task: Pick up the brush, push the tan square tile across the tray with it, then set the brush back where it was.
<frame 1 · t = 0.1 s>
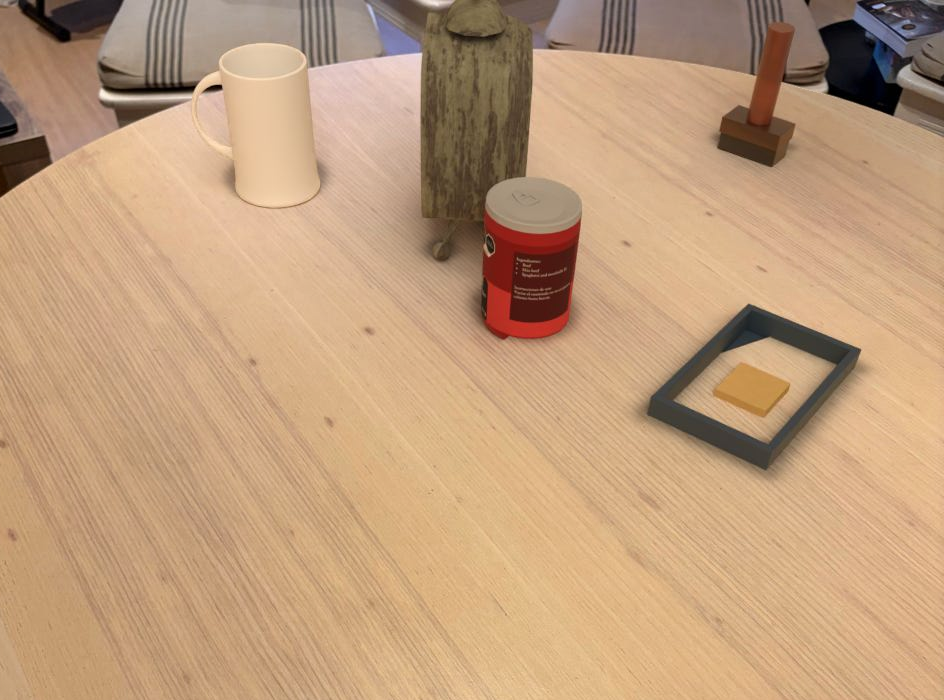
tray: (750, 400, 84), on the table
mug: (262, 187, 104), on the table
canned food: (524, 321, 90), on the table
brush: (751, 152, 110), on the table
tan square tile: (750, 395, 83), point 1 cm above the table, touching tray
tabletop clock: (472, 233, 99), on the table
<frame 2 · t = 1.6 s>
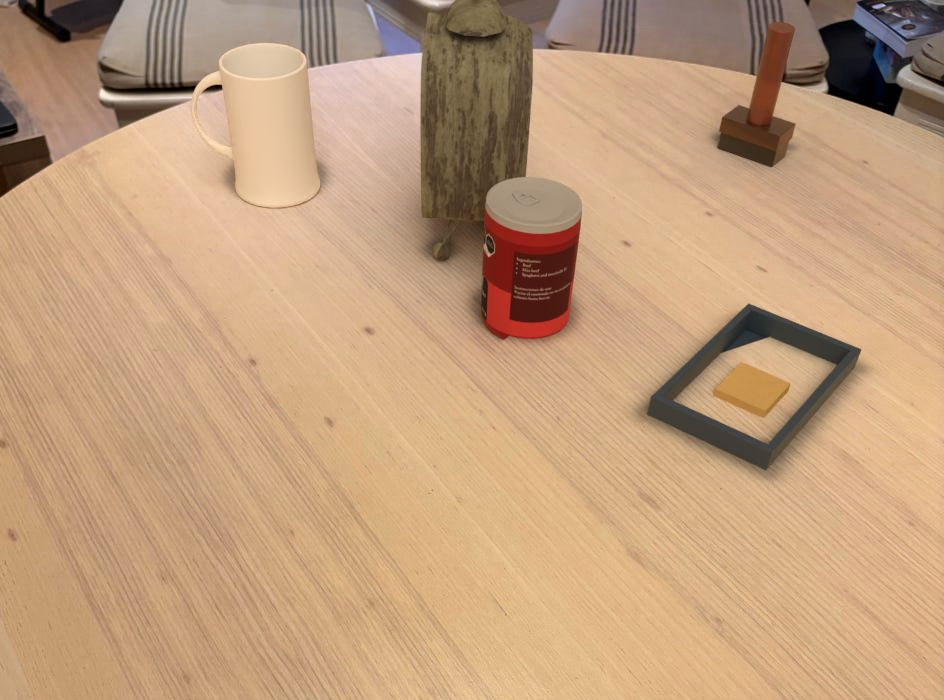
nothing on the table moved.
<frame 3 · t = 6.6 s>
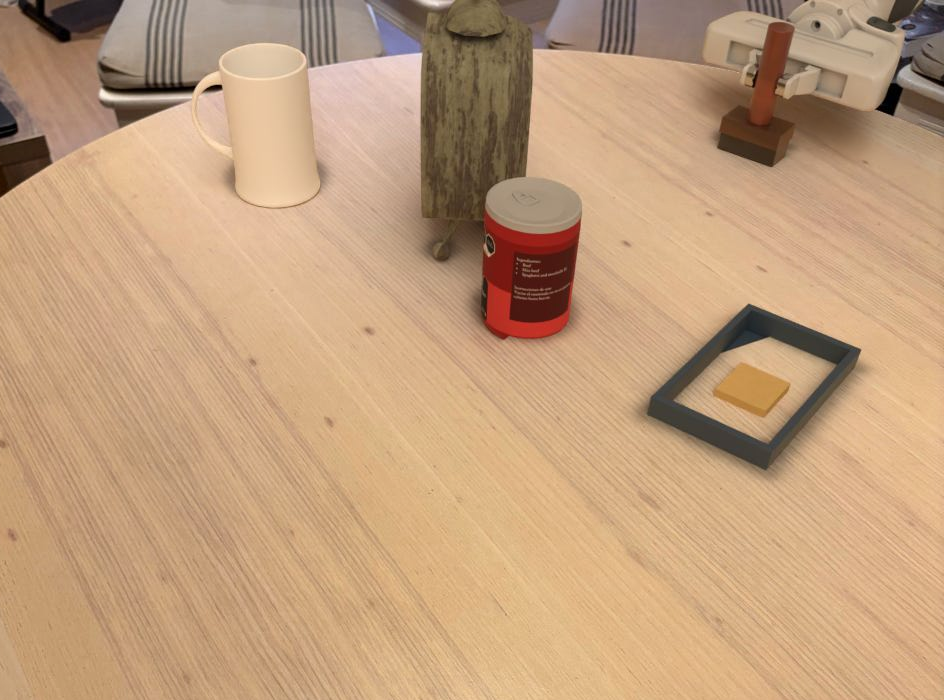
hand: (764, 84, 104), 7 cm above the table, tool horizontal, fingers closed on brush, 2 cm apart
brush: (751, 152, 110), on the table, touching gripper
everything else where it was.
when the fingers open (7 cm above the table, at t = 30.8 s): brush stays where it is, on the table.
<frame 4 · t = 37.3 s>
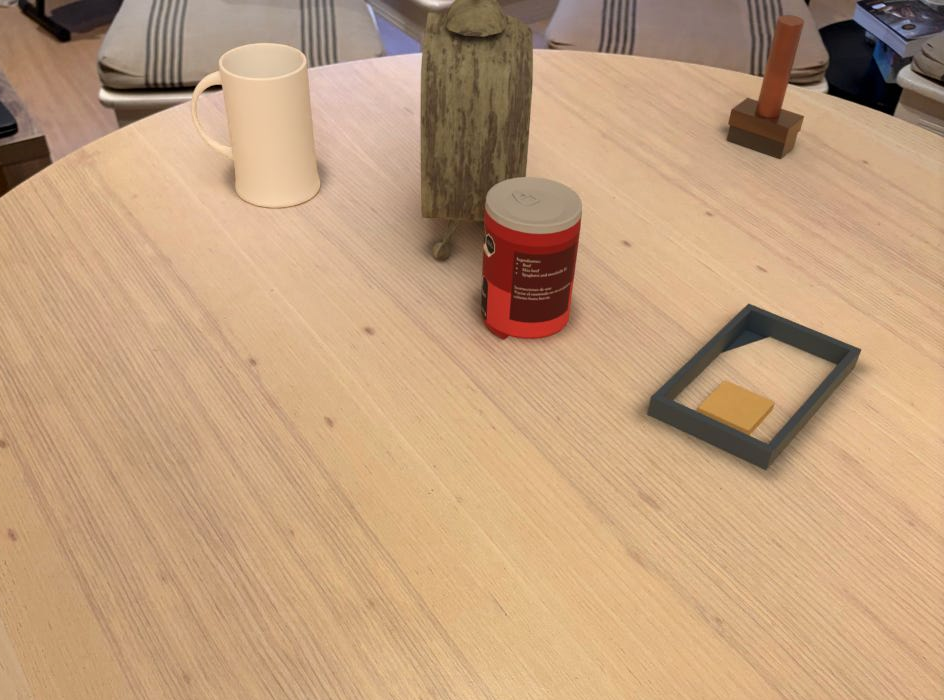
brush: (759, 144, 112), on the table
tan square tile: (733, 414, 81), point 1 cm above the table, touching tray
everything else where it was.
at the end: tan square tile 0.5 cm from the target spot in the tray, point 0.8 cm above the tray's base; brush 2.2 cm from the target spot, on the table; brush tilted 0° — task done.
